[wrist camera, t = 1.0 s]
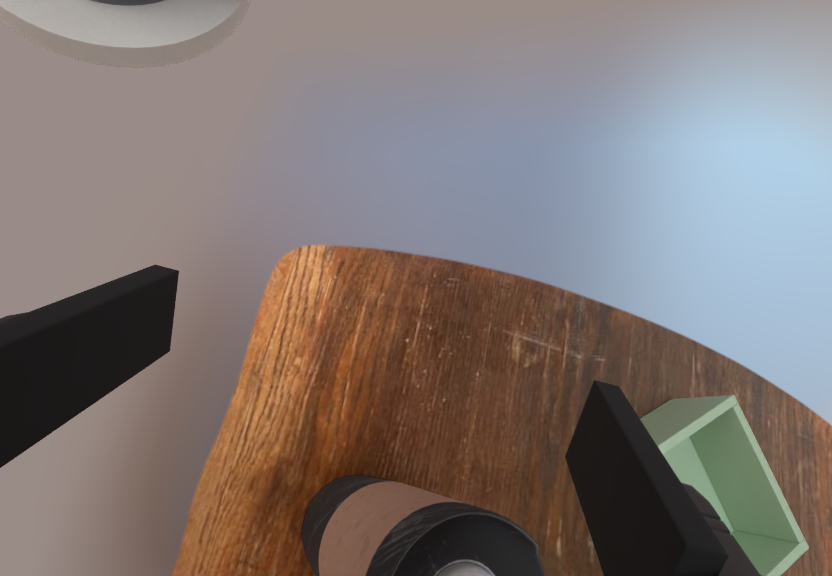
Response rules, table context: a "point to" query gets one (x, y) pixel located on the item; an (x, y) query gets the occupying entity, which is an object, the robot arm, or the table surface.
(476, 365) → the table surface
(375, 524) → the travel mug
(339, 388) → the table surface
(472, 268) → the table surface
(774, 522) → the bin
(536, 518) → the table surface
